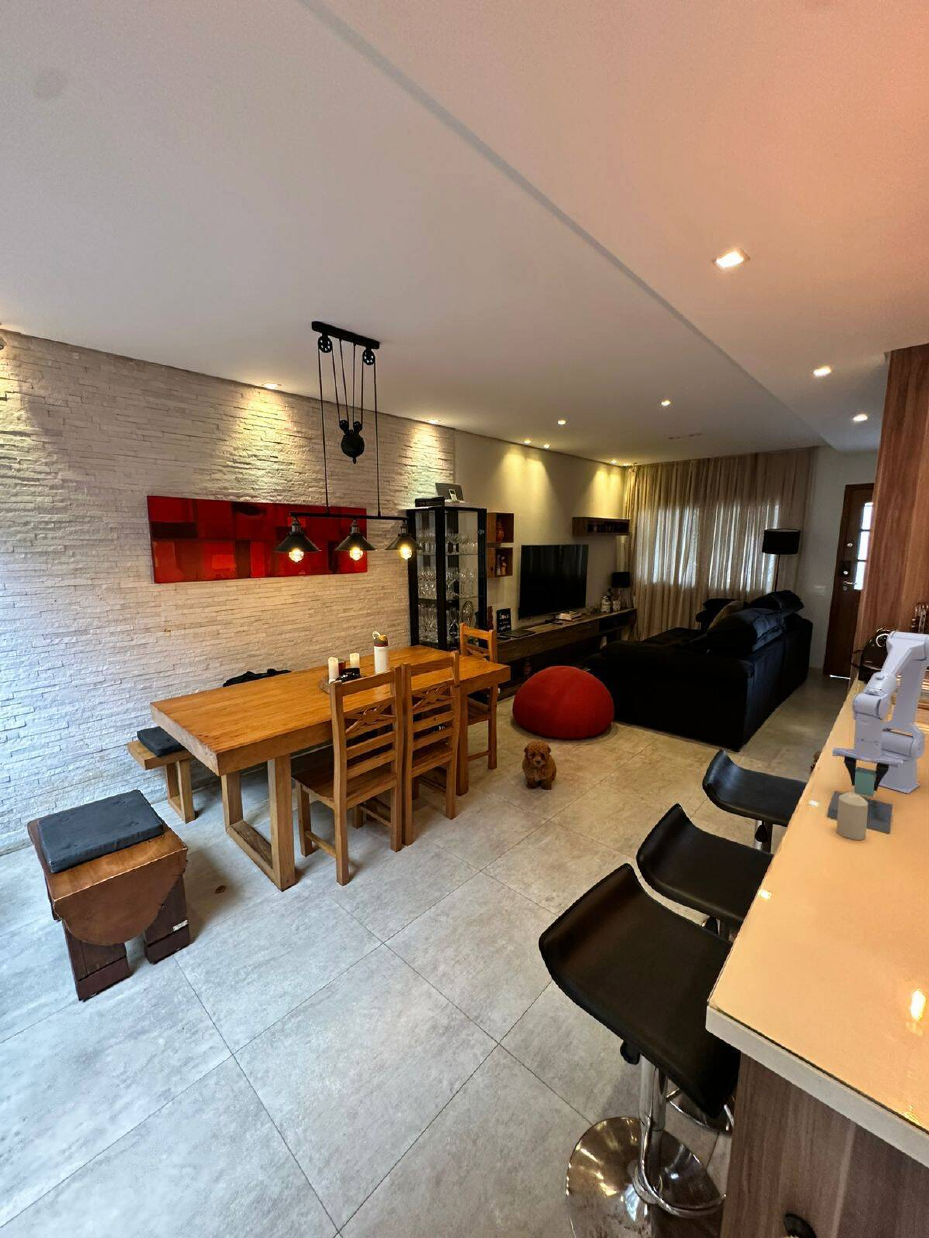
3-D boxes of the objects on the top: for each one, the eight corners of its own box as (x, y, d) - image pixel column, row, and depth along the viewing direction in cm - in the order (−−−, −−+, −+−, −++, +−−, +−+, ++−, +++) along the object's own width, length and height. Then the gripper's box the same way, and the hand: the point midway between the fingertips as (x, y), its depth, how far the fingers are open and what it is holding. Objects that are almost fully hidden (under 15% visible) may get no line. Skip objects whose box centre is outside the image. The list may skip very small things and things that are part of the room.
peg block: (855, 787, 137) (856, 766, 137) (874, 791, 135) (875, 770, 134) (853, 792, 135) (855, 771, 134) (873, 797, 132) (874, 775, 131)
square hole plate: (833, 799, 136) (834, 790, 136) (891, 813, 128) (892, 804, 128) (827, 817, 127) (828, 807, 127) (889, 833, 119) (890, 823, 119)
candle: (870, 841, 116) (873, 800, 115) (844, 839, 117) (846, 799, 116) (857, 828, 122) (860, 789, 120) (831, 827, 123) (834, 788, 122)
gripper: (832, 736, 135) (829, 784, 136) (903, 749, 125) (899, 800, 127) (835, 729, 140) (832, 775, 142) (904, 741, 130) (900, 790, 132)
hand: (864, 787), depth 134 cm, fingers closed on peg block, 4 cm apart
